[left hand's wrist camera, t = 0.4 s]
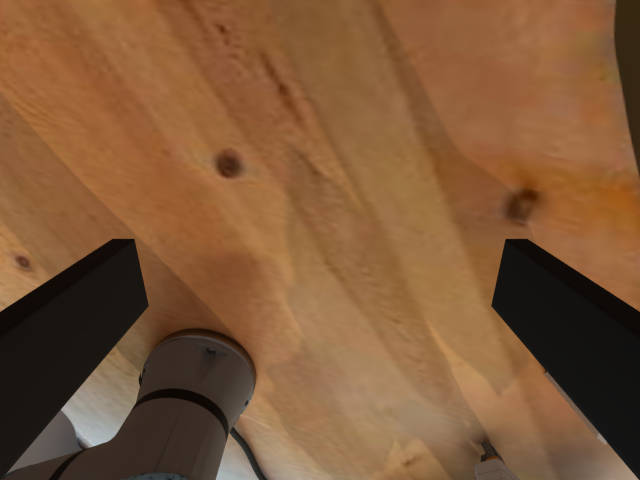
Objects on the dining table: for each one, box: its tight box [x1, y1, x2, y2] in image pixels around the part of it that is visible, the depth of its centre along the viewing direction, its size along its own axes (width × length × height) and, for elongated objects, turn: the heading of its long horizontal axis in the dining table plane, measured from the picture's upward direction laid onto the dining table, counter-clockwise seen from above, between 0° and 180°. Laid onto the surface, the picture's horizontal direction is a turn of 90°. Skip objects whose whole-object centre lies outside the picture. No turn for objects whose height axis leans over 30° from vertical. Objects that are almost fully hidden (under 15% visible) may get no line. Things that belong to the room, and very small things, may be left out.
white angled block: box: [544, 372, 607, 445], centre depth 45 cm, size 4×10×9 cm, turn 140°
